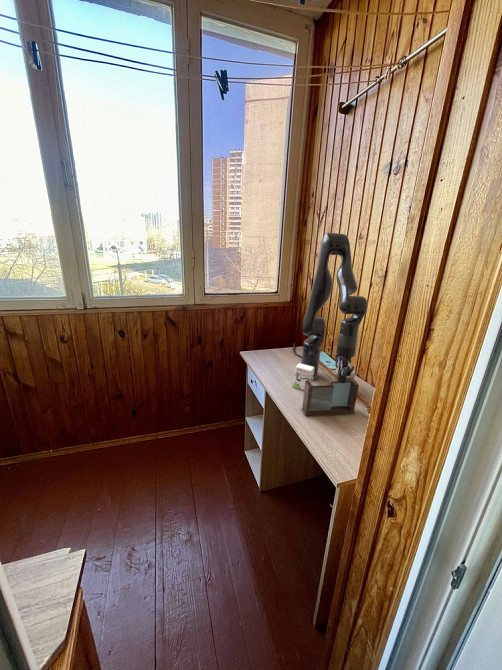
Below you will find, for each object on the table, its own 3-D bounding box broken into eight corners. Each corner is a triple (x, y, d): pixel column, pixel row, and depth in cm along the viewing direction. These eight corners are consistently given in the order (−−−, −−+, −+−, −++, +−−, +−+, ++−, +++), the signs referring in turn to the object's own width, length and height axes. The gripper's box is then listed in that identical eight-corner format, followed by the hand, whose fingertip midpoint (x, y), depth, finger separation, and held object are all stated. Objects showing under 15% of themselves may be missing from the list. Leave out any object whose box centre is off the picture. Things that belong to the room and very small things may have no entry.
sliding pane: (326, 405, 131) (331, 370, 125) (346, 404, 132) (352, 369, 126) (327, 407, 130) (332, 371, 124) (347, 406, 131) (353, 371, 125)
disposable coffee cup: (355, 391, 147) (359, 370, 143) (345, 398, 140) (349, 376, 136) (339, 384, 153) (342, 363, 149) (328, 390, 147) (331, 369, 143)
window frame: (302, 409, 131) (305, 380, 126) (348, 407, 134) (353, 378, 129) (305, 416, 126) (309, 386, 121) (353, 413, 129) (358, 384, 124)
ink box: (293, 387, 149) (295, 366, 145) (296, 383, 153) (298, 362, 149) (309, 392, 145) (311, 370, 141) (312, 387, 149) (315, 366, 145)
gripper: (363, 350, 115) (356, 389, 121) (348, 337, 128) (342, 373, 134) (345, 350, 114) (339, 389, 120) (331, 338, 127) (326, 373, 133)
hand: (341, 380), depth 127 cm, fingers closed
